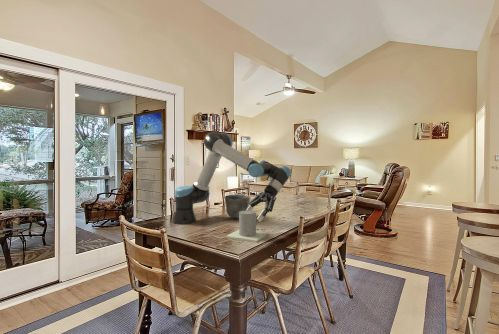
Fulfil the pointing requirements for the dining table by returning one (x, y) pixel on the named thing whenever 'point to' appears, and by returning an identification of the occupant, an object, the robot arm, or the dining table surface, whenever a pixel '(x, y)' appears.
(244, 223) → the light grey cylinder
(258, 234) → the sage placemat
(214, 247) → the dining table surface
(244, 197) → the grey round pot
